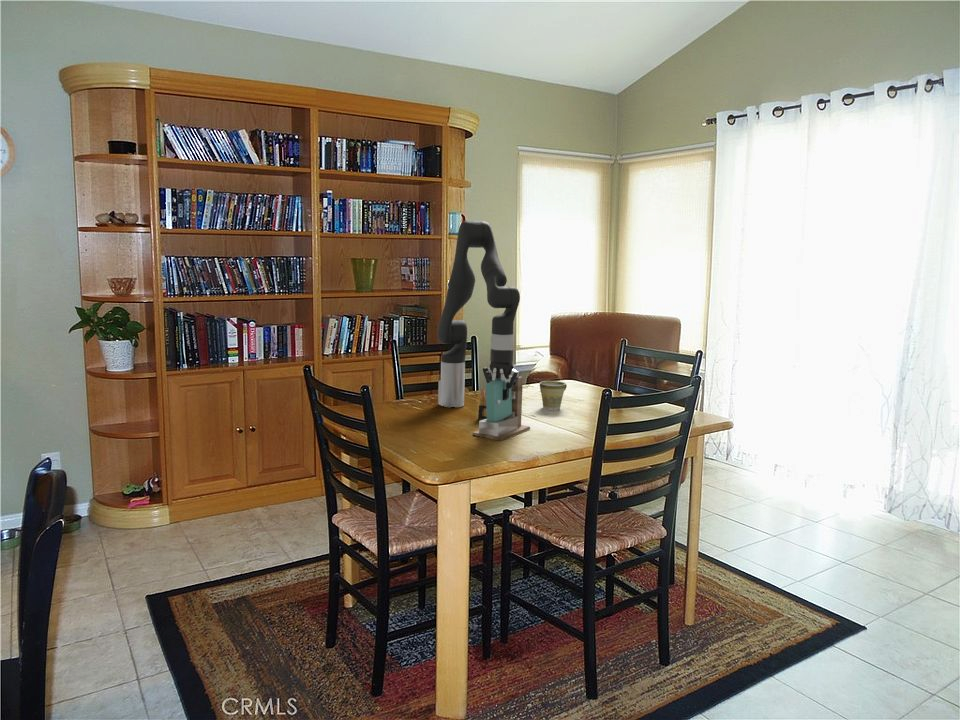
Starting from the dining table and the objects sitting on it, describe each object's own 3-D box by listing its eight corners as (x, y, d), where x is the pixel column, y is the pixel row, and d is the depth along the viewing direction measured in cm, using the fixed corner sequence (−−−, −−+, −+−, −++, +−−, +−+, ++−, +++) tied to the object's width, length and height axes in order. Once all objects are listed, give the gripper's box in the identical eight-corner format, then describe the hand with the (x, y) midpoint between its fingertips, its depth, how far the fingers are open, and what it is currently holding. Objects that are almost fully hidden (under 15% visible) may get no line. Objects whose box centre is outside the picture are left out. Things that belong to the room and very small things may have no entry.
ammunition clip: (507, 420, 263) (509, 387, 261) (506, 421, 261) (507, 388, 259) (479, 417, 266) (480, 385, 265) (477, 418, 265) (478, 386, 263)
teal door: (486, 422, 241) (485, 384, 237) (504, 412, 249) (503, 375, 246) (496, 424, 238) (495, 385, 235) (514, 414, 247) (513, 377, 244)
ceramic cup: (552, 412, 278) (553, 386, 277) (533, 407, 286) (534, 382, 284) (574, 408, 287) (576, 382, 285) (556, 403, 294) (557, 379, 293)
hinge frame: (472, 435, 241) (473, 381, 239) (502, 424, 257) (504, 373, 254) (500, 440, 235) (502, 385, 233) (530, 429, 251) (532, 377, 248)
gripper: (477, 346, 241) (476, 398, 244) (514, 350, 234) (512, 404, 236) (490, 344, 247) (488, 394, 250) (526, 348, 240) (524, 400, 243)
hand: (500, 399), depth 243 cm, fingers closed on teal door, 3 cm apart
